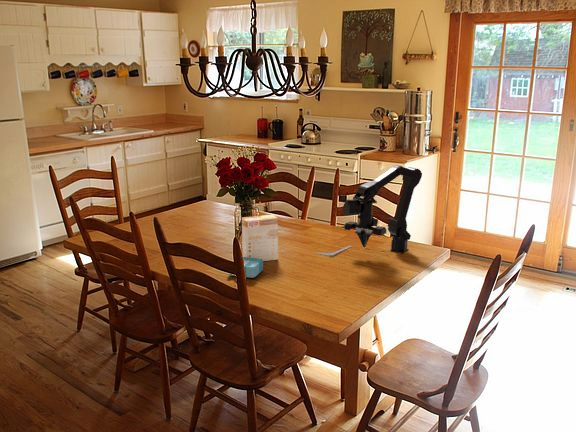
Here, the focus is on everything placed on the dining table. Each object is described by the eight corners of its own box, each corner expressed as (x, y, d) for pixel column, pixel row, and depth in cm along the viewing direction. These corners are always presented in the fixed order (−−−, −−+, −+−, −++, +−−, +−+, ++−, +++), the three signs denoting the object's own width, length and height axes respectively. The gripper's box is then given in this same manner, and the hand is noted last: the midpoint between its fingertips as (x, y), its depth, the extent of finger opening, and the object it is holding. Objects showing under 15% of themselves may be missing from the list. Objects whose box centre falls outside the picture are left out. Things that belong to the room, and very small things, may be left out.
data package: (253, 267, 216) (226, 264, 219) (254, 278, 217) (226, 275, 220) (264, 258, 227) (237, 256, 230) (264, 268, 228) (238, 266, 231)
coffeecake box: (273, 255, 246) (273, 214, 242) (278, 259, 240) (278, 217, 235) (242, 258, 241) (241, 216, 236) (246, 263, 234) (245, 220, 230)
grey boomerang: (351, 248, 257) (352, 246, 257) (331, 257, 243) (331, 255, 243) (326, 242, 266) (326, 241, 266) (305, 251, 252) (305, 249, 252)
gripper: (392, 212, 239) (391, 246, 243) (356, 207, 250) (355, 239, 254) (381, 217, 231) (379, 252, 234) (344, 211, 242) (343, 244, 245)
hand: (364, 246), depth 242 cm, fingers closed
